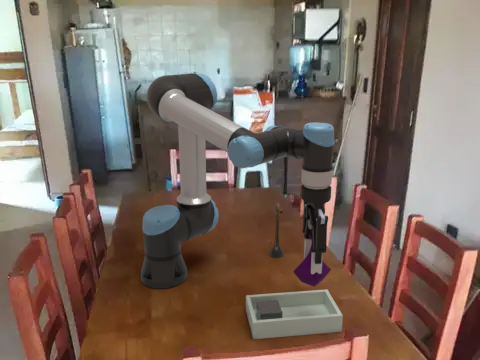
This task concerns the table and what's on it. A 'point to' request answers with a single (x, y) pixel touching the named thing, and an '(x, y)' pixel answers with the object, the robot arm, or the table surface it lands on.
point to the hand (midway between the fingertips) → (312, 266)
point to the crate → (295, 314)
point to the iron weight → (268, 310)
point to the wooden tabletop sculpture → (277, 234)
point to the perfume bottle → (305, 267)
